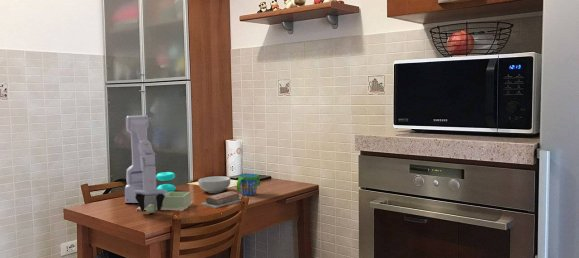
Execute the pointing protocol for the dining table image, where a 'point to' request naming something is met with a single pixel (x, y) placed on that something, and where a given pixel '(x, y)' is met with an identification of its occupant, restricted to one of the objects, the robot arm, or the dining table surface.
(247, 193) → the snack cup
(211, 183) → the cereal bowl
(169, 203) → the two-tone hollow container
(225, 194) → the packaged product
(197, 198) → the dining table surface
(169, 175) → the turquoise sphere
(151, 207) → the ball
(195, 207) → the dining table surface
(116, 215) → the dining table surface
